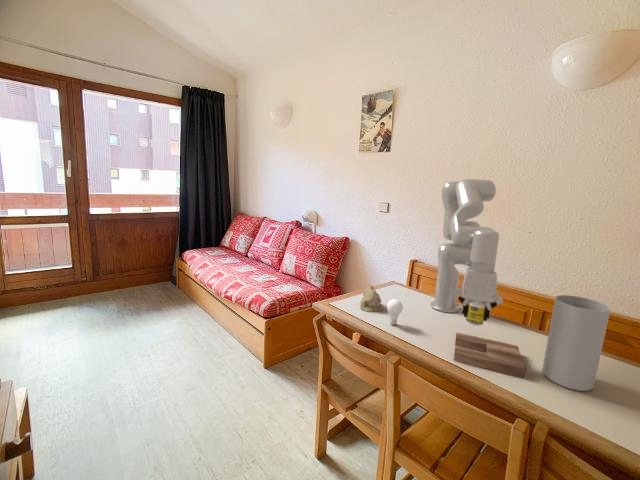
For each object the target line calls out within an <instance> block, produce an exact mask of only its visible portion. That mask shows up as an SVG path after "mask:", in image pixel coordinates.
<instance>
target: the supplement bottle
mask: <svg viewBox="0 0 640 480" xmlns="http://www.w3.org/2000/svg"><path fill="white" fill-rule="evenodd" d="M467 304H468V309H467V316H466V317H465V321H466V323H468V324H469V325H471V326H475V327H476V326H478V327H480V326H482V325H483V324H484V322H485V321H484V314H485V308H486V306H487V305H486V302H481V301H475V300H470V299H469V301H468V303H467Z"/></svg>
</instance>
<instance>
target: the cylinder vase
mask: <svg viewBox="0 0 640 480" xmlns="http://www.w3.org/2000/svg"><path fill="white" fill-rule="evenodd" d="M610 315H611V307H610V306H609V305H607V304H606V303H603V302H600V301H597V300H594V299H590V298H586V297H581V296H576V295H569V294H568V295H566V294H559V295H556V296H555V298H554V304H553V308H552V314H551V319H550V324H549V329H548V330H549V331H548V335H547V342H546V345H545V346H546V347H545V353H544V358H543V364H542V368H541V369H542V371H541V372H543V374H544V376H545V377H546V378H547V379H549V381H552V382H553V383H555V384H557V385H559V386H560V387H563V388H566V389H569V390H573V391H578V392H587V391H591V390H593V389H594V386H595V383H596V377H597V373H598V368H599V363H600V359H601V356H602V350H603V345H604V341H605V337H606V332H607V327H608V324H609V323H608V322H609V320H610V319H609V318H610Z"/></svg>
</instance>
